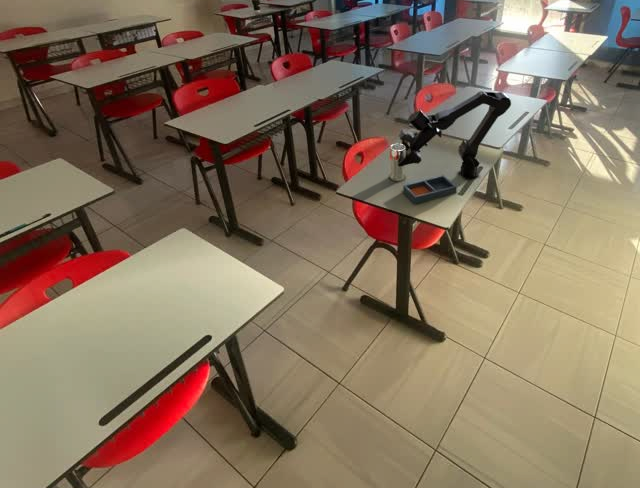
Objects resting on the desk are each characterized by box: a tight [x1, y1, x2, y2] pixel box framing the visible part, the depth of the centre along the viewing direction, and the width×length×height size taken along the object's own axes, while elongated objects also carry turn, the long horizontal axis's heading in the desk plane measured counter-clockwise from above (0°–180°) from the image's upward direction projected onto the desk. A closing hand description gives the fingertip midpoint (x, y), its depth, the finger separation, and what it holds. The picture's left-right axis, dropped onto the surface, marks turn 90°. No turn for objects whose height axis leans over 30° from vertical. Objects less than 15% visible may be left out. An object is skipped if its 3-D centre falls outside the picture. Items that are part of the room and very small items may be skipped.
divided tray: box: [402, 174, 457, 205], centre depth 172 cm, size 19×10×3 cm, turn 115°
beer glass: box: [389, 143, 406, 182], centre depth 179 cm, size 7×7×15 cm
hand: (397, 160), depth 178 cm, fingers open, 9 cm apart
